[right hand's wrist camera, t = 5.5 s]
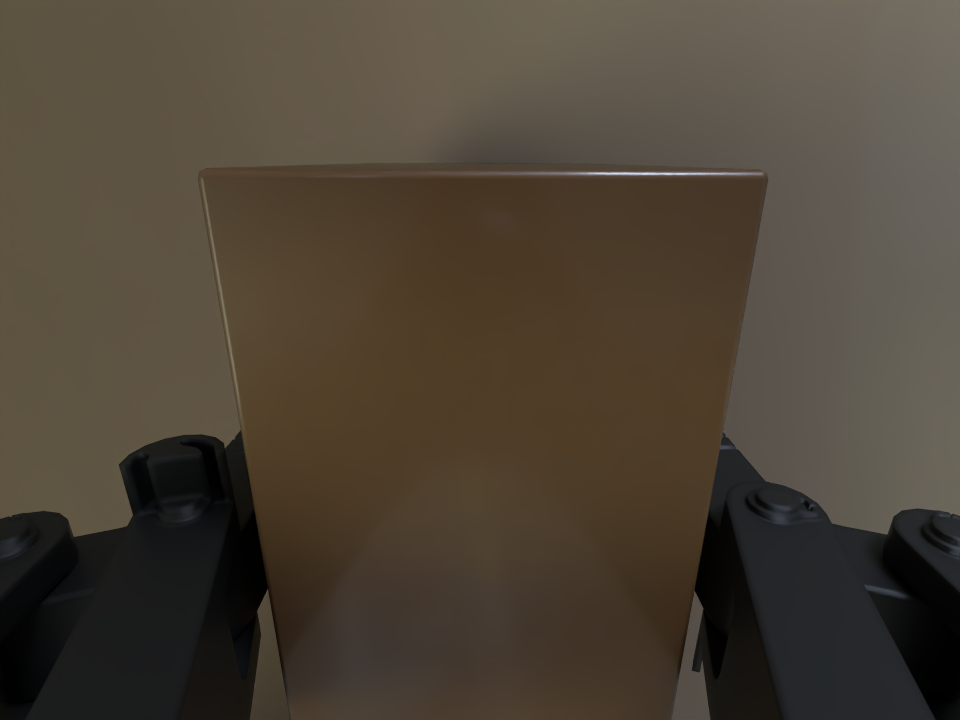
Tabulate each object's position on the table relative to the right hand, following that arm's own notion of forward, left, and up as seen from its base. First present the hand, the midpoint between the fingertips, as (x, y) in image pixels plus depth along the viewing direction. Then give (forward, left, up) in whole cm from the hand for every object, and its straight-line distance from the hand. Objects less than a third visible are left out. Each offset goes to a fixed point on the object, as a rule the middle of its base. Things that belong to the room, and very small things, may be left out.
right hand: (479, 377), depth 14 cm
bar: (+18, +20, -1) cm, 27 cm away
